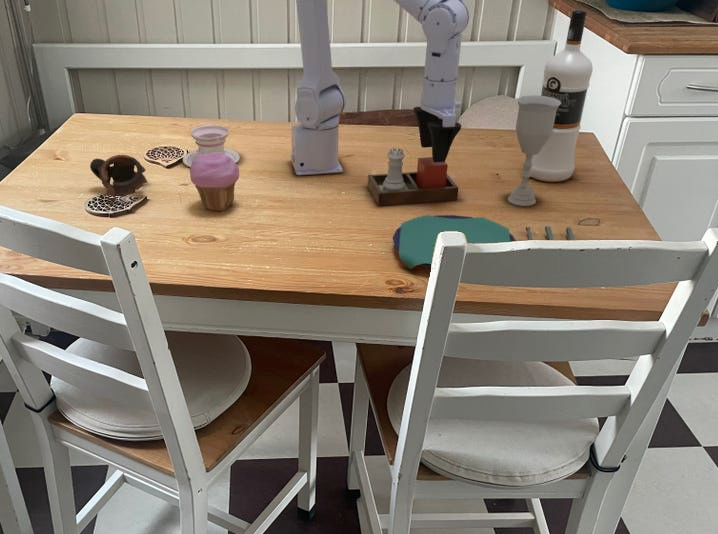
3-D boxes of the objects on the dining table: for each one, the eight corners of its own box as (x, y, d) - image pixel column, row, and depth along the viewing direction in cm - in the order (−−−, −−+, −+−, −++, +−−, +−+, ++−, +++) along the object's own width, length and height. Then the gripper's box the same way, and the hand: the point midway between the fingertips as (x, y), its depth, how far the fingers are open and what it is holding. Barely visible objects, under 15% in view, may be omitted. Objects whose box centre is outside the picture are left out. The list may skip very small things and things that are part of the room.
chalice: (543, 195, 136) (562, 97, 126) (540, 209, 131) (560, 108, 120) (503, 190, 138) (518, 94, 128) (499, 204, 133) (514, 105, 122)
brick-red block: (422, 194, 136) (424, 166, 132) (415, 185, 139) (418, 157, 136) (444, 193, 136) (447, 164, 133) (437, 184, 140) (440, 156, 136)
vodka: (582, 177, 143) (619, 11, 125) (547, 187, 139) (580, 17, 122) (548, 162, 150) (578, 3, 132) (514, 171, 146) (540, 8, 128)
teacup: (250, 162, 152) (248, 133, 148) (199, 175, 146) (196, 145, 143) (222, 146, 160) (220, 118, 156) (173, 158, 154) (169, 129, 151)
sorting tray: (378, 206, 133) (379, 193, 132) (367, 187, 140) (368, 175, 139) (457, 200, 135) (458, 187, 133) (442, 182, 142) (443, 169, 141)
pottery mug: (159, 186, 143) (154, 158, 136) (136, 222, 139) (130, 196, 132) (104, 165, 144) (96, 137, 137) (80, 201, 141) (71, 173, 133)
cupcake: (228, 219, 129) (224, 165, 123) (185, 213, 132) (178, 159, 126) (248, 200, 136) (245, 148, 130) (207, 194, 138) (202, 142, 133)
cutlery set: (394, 222, 127) (395, 210, 126) (571, 231, 124) (573, 218, 122) (389, 277, 112) (390, 263, 110) (591, 289, 108) (595, 275, 106)
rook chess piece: (406, 196, 135) (409, 154, 130) (382, 196, 135) (384, 154, 130) (404, 187, 139) (407, 146, 134) (381, 187, 139) (383, 146, 134)
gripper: (476, 87, 120) (466, 166, 128) (449, 65, 132) (442, 139, 140) (435, 89, 120) (428, 169, 127) (412, 67, 131) (406, 141, 139)
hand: (432, 153), depth 134 cm, fingers open, 7 cm apart
